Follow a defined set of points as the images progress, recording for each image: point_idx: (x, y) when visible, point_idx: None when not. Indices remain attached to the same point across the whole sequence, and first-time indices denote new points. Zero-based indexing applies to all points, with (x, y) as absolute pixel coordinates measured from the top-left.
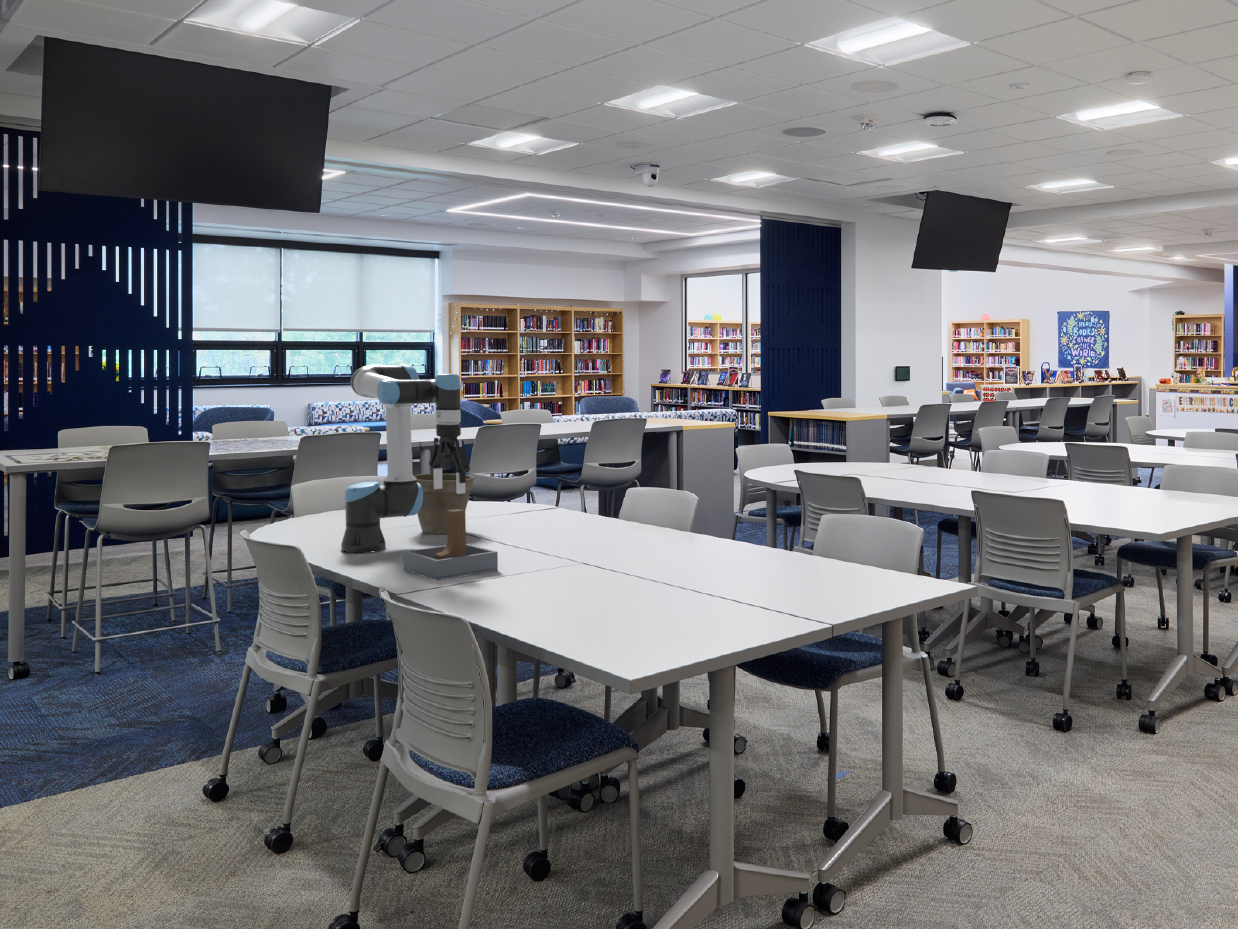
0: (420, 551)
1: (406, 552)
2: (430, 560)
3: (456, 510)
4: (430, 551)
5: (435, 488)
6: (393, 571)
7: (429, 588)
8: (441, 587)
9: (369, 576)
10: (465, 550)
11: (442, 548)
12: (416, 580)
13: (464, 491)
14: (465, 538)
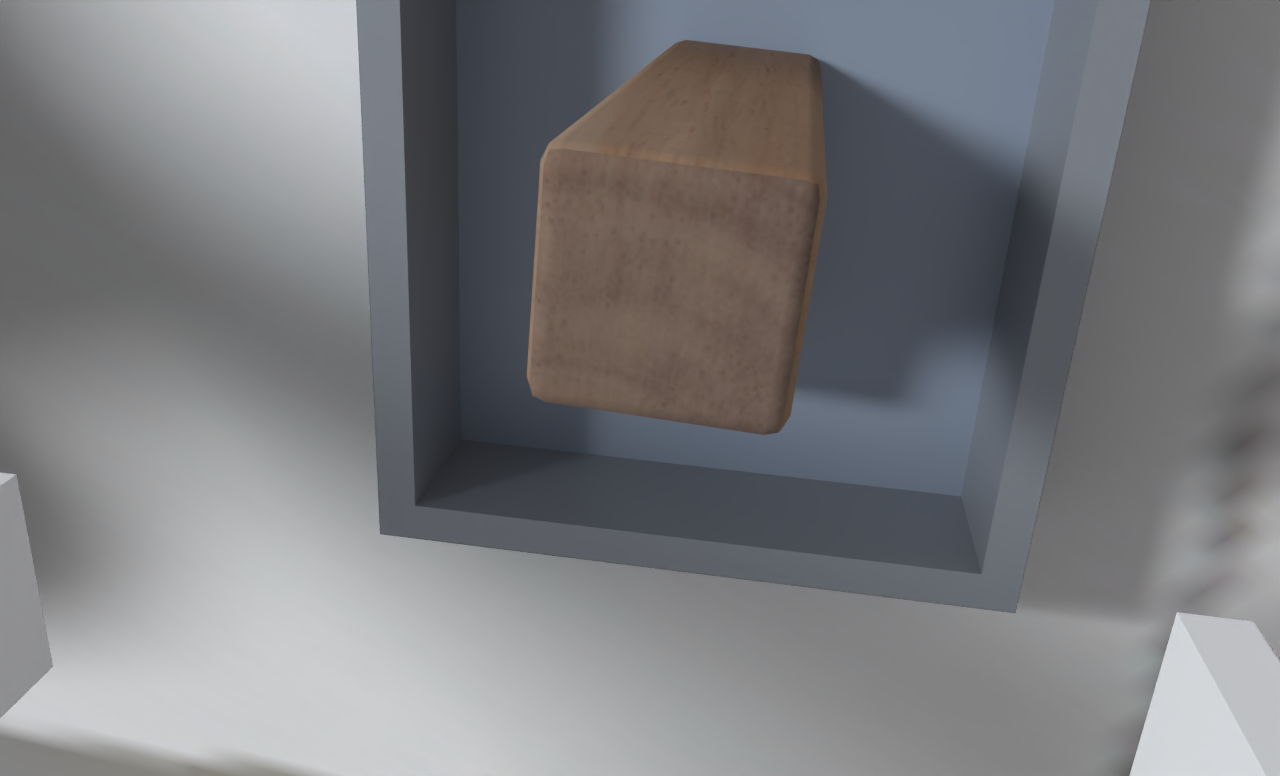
0: (417, 381)
1: (433, 538)
2: (896, 591)
3: (704, 316)
4: (420, 264)
5: (39, 666)
6: None
7: None
8: None
9: (473, 726)
10: (821, 88)
11: (410, 115)
12: (844, 604)
13: (1261, 676)
14: (821, 106)
